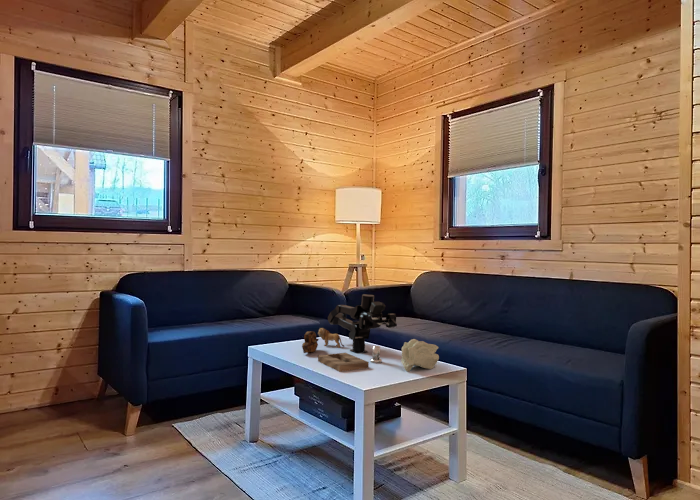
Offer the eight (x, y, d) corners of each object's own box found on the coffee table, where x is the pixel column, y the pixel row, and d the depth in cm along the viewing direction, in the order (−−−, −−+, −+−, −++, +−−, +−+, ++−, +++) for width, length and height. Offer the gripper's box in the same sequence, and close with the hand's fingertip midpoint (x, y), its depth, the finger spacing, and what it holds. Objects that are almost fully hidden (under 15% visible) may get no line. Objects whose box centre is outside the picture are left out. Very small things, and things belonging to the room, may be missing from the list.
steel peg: (368, 361, 217) (368, 345, 217) (377, 360, 220) (378, 345, 220) (374, 363, 213) (374, 348, 213) (383, 362, 215) (384, 347, 215)
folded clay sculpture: (419, 381, 211) (425, 346, 218) (440, 380, 201) (445, 344, 207) (387, 368, 204) (394, 333, 210) (407, 366, 193) (414, 329, 200)
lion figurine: (316, 345, 249) (316, 328, 249) (320, 344, 254) (320, 326, 254) (342, 348, 244) (343, 330, 244) (346, 346, 249) (346, 329, 249)
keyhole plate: (317, 361, 215) (318, 355, 215) (345, 358, 222) (345, 352, 222) (339, 371, 198) (339, 365, 198) (368, 368, 205) (368, 362, 205)
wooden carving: (310, 356, 225) (311, 334, 225) (301, 355, 226) (301, 334, 226) (319, 349, 241) (320, 329, 241) (311, 348, 242) (311, 328, 242)
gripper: (354, 301, 223) (371, 308, 210) (387, 300, 233) (406, 307, 219) (352, 324, 224) (369, 333, 211) (385, 323, 233) (404, 331, 220)
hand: (388, 325), depth 215 cm, fingers open, 9 cm apart
